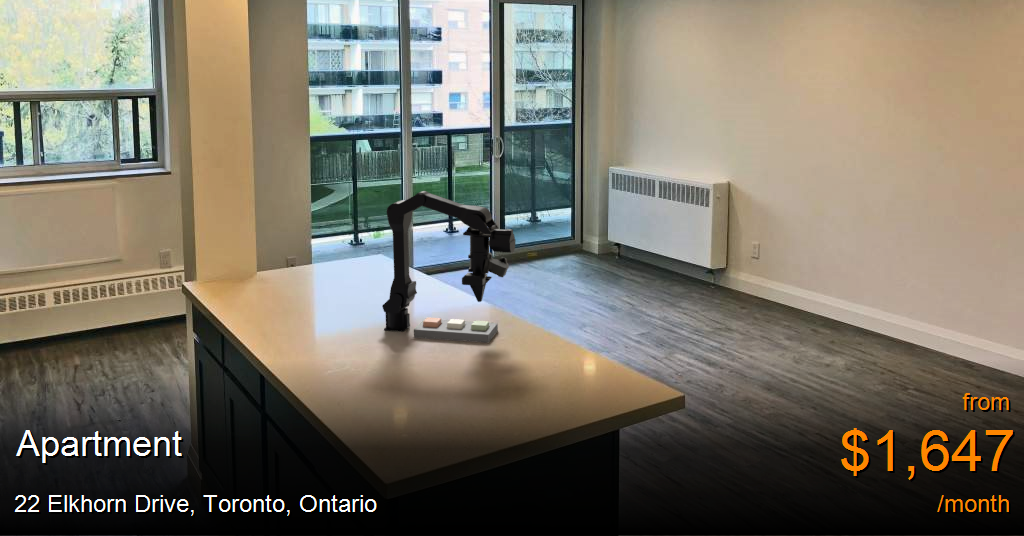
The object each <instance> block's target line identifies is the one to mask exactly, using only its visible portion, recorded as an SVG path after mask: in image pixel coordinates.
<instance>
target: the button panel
mask: <svg viewBox="0 0 1024 536" xmlns="http://www.w3.org/2000/svg"><path fill="white" fill-rule="evenodd" d="M426 318H427V317H426ZM426 318H424V319H423V320H422V321H420V323H419V324H417V326H415V328H413V338H415V339H416V338H419V339H431V340H445V341H459V342H460V341H461V342H472V343H473V342H475V343H484V344H489V343H490V342H491V340H492V339H493V337H495V335H496V333H497V332H498V331H499V329H498V325H499V324H498V322H489V328H488V329H487V331H481V330H471V324H472V323H473V322H474V321H475V320H474V321H472V320H465V326H464V327H463V329H452V328H447V323H448V322H449V321H450V320H451V319H444V318H441V325H440V326H439V327H423V321H424V320H425V319H426Z"/></svg>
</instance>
